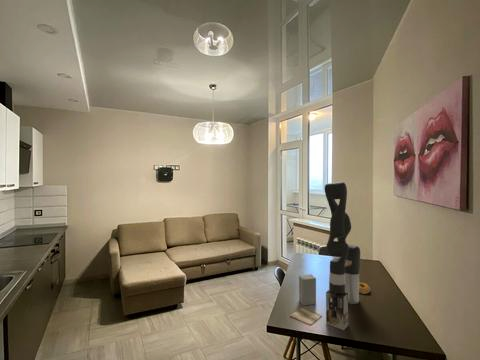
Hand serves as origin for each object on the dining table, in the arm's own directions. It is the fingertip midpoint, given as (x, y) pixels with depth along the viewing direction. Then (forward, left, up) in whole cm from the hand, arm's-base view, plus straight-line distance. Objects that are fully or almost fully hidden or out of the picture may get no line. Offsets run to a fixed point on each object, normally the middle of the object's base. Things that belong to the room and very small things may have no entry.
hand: (336, 314), depth 129 cm
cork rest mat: (+4, -15, -5) cm, 16 cm away
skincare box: (-10, -22, -5) cm, 25 cm away
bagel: (-50, -5, -5) cm, 51 cm away
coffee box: (0, 0, -5) cm, 5 cm away
